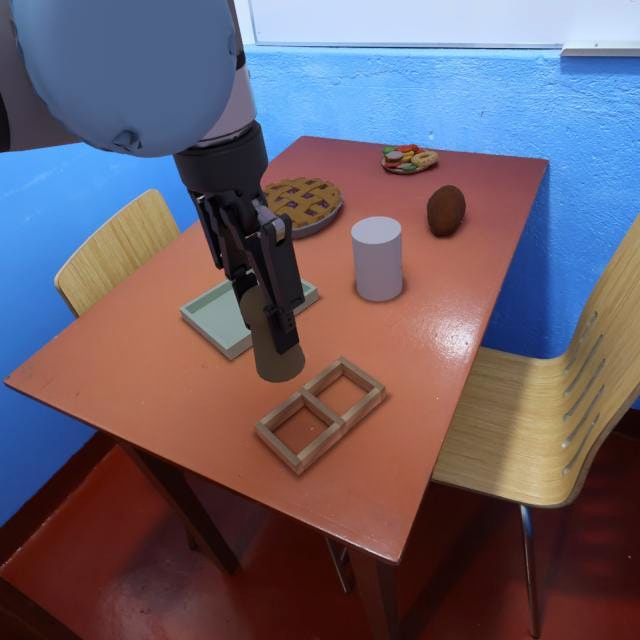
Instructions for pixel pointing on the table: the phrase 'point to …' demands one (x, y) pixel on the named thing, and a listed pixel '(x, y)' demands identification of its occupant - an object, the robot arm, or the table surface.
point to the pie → (304, 203)
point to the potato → (445, 209)
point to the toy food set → (407, 159)
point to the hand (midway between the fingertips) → (272, 334)
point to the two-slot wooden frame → (320, 413)
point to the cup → (377, 257)
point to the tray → (229, 317)
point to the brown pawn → (268, 342)
